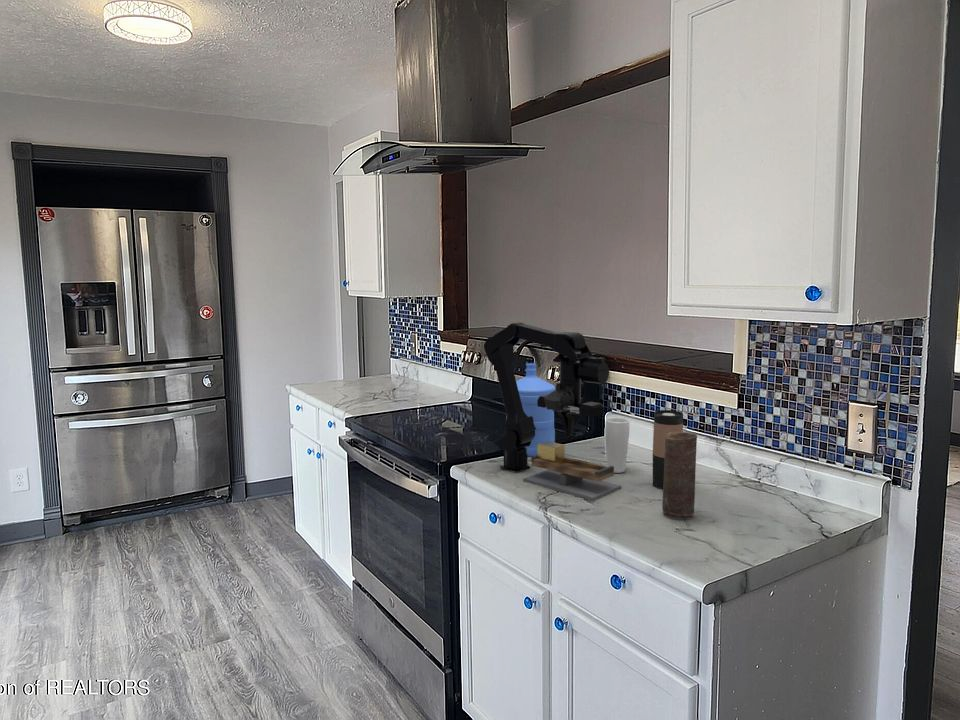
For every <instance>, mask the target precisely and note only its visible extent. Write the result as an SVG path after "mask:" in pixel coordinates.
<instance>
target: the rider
mask: <svg viewBox="0 0 960 720" xmlns="http://www.w3.org/2000/svg"><path fill="white" fill-rule="evenodd" d="M565 450H566V449H565V444H562V443H558V442H555V443H554V442H549V441H546V442H543V443H540V444H538V454H537V459H541V460H545V461H549V462H554V463H558V464H561V463H564V462H565V452H566V451H565Z"/></svg>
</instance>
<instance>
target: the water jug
mask: <svg viewBox="0 0 960 720" xmlns="http://www.w3.org/2000/svg"><path fill="white" fill-rule="evenodd" d="M525 366H526V368H525V372H526V373H525V374H526V375H525V377H524V376H523V377H522V378H520V379H518V380H516V383H517V387H518V391H519V395H520V399H521V403H522V407H523V411H524V413H525V414H526V415H527V416H528V417H530V416H532V417H533V421H534V426H535V428H536V430H535V436H534V438H533V440H532V441H531V444H530V446H527V447H525V448H527V455H528V457H533V456H536V455H537V454H538V444H540V443H543V442H546V441H549V442H554V443H556V430H555V413H554V412H553V410H551V409H550V410H548V409H547V408H543V407H538V406H537V400H538V398H539V397H540V396H543V395H548V394H550V393H551V392H553V391H555V390H556V385H554V384H552V383H550V382H548V381H545V380H544V379H542V378H540V377H538V376H537V368H536V366H537V363H534V362H530V363H529V362H528V363H525ZM505 417H506V418H505V420H506V419H507V416H505Z"/></svg>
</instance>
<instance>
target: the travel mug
mask: <svg viewBox="0 0 960 720" xmlns="http://www.w3.org/2000/svg"><path fill="white" fill-rule="evenodd" d="M653 416H654V418H653V435H652V436H653V437H652V438H653V439H652V485H653V487H654V488H657V489H661V490H663V482H664V461H665V437H666V435H667V434H668V433H670V432H678V433H681V432H683V431H684V412H681V411H679V410H671V409H660V410H655V411H654V412H653Z"/></svg>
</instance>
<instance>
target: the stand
mask: <svg viewBox="0 0 960 720" xmlns="http://www.w3.org/2000/svg"><path fill="white" fill-rule="evenodd" d="M522 481H523V482H525V483H529V484H531V485H536V486H539V487H543V488H546V489H550V490H554V491H556V492H557V491H558V492H560V493H564V494H568V495H571V496H575V497H578V498H582V499H585V500H588V501H592V502H593V501H595V500H598V499H600V498H602V497H604V496H607V495H609V494H612V493H614V492H616V491H618V490H621V489H622V485H620V484H616V483H613V482H609V481H605V480H602V481H599V482H597V481H593V480H589V479H584V478H580V477H576V476H572V475H568V474H564V473H560V472H556V471H552V470H548V469H545V470H544V471H540V472H537V473H534V474H532V475H530V476H526V477H523V478H522Z"/></svg>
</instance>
